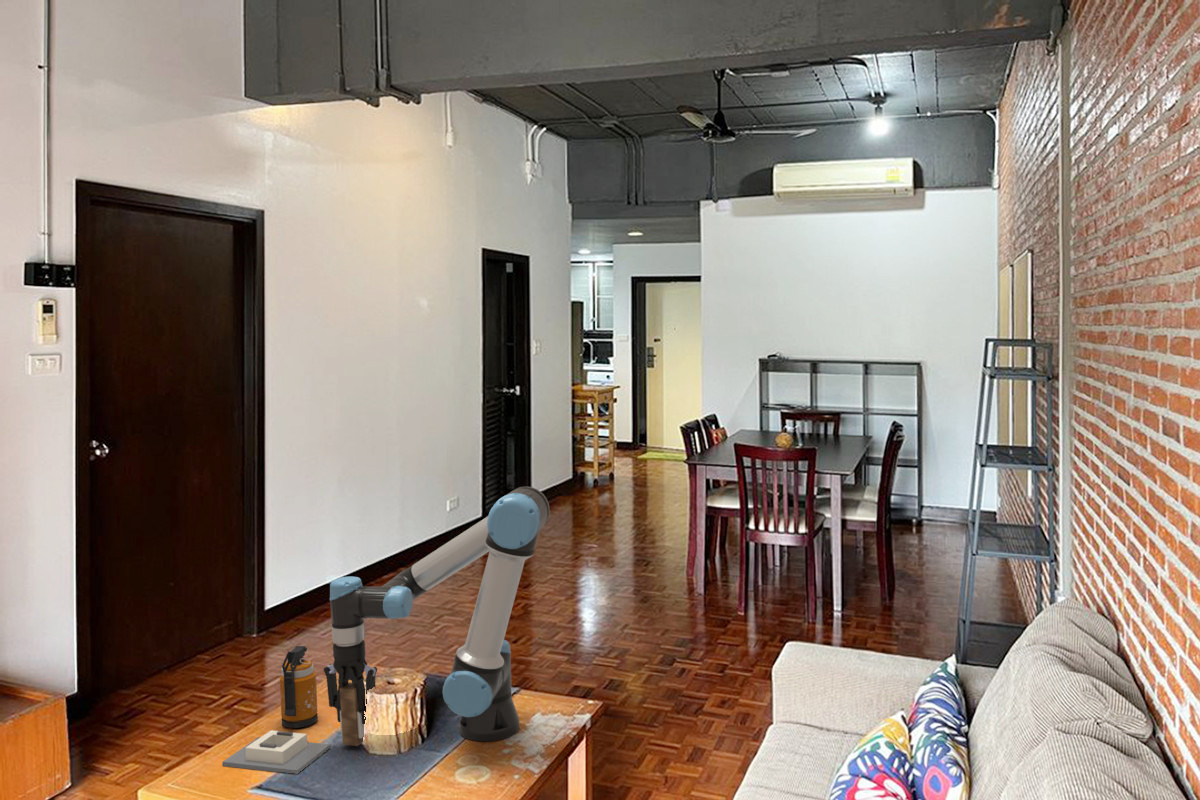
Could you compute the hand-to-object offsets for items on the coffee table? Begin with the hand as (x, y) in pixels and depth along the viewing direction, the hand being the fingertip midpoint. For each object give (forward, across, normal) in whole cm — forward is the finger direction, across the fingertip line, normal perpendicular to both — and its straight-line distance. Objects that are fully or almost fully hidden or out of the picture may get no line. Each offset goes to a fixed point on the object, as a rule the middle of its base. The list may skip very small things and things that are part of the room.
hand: (354, 735), depth 229 cm
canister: (+3, +22, -9) cm, 23 cm away
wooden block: (+2, 0, 0) cm, 2 cm away
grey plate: (+3, +16, +9) cm, 18 cm away
